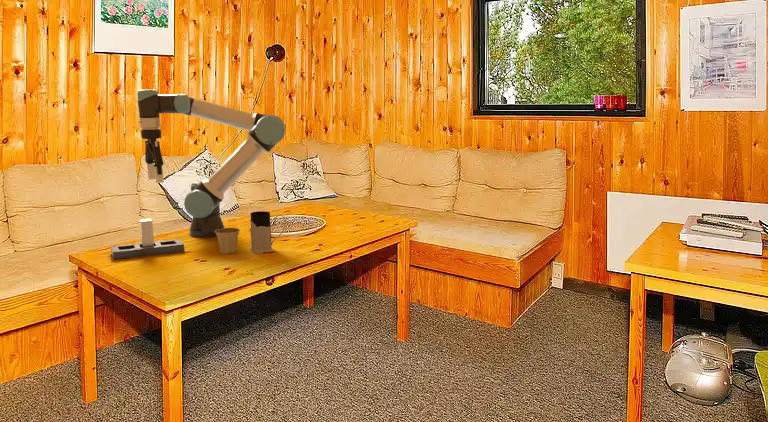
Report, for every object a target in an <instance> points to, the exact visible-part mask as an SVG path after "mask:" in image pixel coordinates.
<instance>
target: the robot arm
mask: <svg viewBox="0 0 768 422" xmlns="http://www.w3.org/2000/svg"><path fill="white" fill-rule="evenodd" d="M137 107H138V113H139V114H138V115H139V120H138V124H140V129H141V130H140V135H141V139H142V140H144V144H145V151H144V152H145V157H144V158H145V159H144V162H145V163H146V168H147V176H148V180H155V183H156V184H160V183H161V184H162V183H165V182H164V172H163V171H164V169H163V166H164V164H165V163H164V161H163V159H164V158H163V155H162V151H161V145H160V141H159V140H157V139H161V138H162V129H160V128H161V126H162V125H161V117H160V114H181V115H182V114H183V115H186V116H191V117H195V118H199V119H202V120H205V121H210V122H212V123H217V124H220V125H225V126H229V127H232V128H236V129H239V130H244V131H247V137H246V140H245V141H243V143H241V144H240V146H239V147H238V148H236V150H234V152H233V153H232V154H231V155H230V156H229V157H228V158H227V159H226V160H225V161H224V162H223V163H222V164H221V165H220V166H219V167H218V169H216V171H215V172H214V173H213V174H212V175H211V176H210V177H208V179H202V180H201V181H200V182H192V183H191V185H190V190H191V191H190V192H188V193H187V194H186V196H185V198H184V202H183V205H184V209H185V211H186V212H187V213H188V215H190V216H191V217H192V219H191V223H190V225H189V235H190V236H192V237H198V238H199V237H200V238H205V237H206V238H208V237H217V236H216V233H215V230H217V229H222V228H226V227H225V225H224V222H223V219H222V217H221V208H220V207H221V206H220V204H221V203H222V201H224V199H225V193H226V192H227V191H228V190H229V189H230V188H231V187H232V186H233V184H234V183H236V182H237V181H238V179H240V177H241V176H242V175H243V174H244V173H245V172H247V170H248V169H249V168H250V167H251V166H252V165H253V164H254V163H255V162H256V161H257V160H258V158H260V157H261V156H262V154H265V153H270V152H271V151H272V150H273V148H274V147H275V146H277V144H278V143H280V142H281V141H282V140H283V139H284V137H285V135H286V123H285V122H284V121H283V119H282V118H281V117H280V116H277V115H273V114H264V113H259V112H256V113H250V112H246V111H242V110H240V109H239V110H238V109H235V108H231V107H227V106H224V105H220V104H217V103H212V102H209V101H205V100H201V99H198V98H193V97H191V96H189V95H188V94H185V93H184V94H183V93H175V94H172V93H170V94H161V93H158V90H157V89H138V91H137Z"/></svg>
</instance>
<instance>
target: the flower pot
mask: <svg viewBox="0 0 768 422" xmlns="http://www.w3.org/2000/svg"><path fill="white" fill-rule="evenodd" d="M240 231H241V229H240V228H237V227H225V228H222V229H217V230H215V233H216V236H215V237H217V243H218V246H219V252H220V253H221V254H226V255H227V254H233V253H236V252H237V248H238V238H239V235H240V234H239V233H240Z"/></svg>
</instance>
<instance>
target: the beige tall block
mask: <svg viewBox="0 0 768 422" xmlns="http://www.w3.org/2000/svg"><path fill="white" fill-rule="evenodd" d="M153 224H154V223H153V220H152V218H143V219H142V218H141V219H139V230H140V243H141V244H142V248H143V247H152V246H154V242H155V240H154V239H155V238H154V228H153V226H154V225H153Z"/></svg>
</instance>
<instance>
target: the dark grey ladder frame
mask: <svg viewBox="0 0 768 422" xmlns="http://www.w3.org/2000/svg"><path fill="white" fill-rule="evenodd" d="M110 252H111V257H112V256H113V257H112V259H118V260H124V259H123V258H127V259H134V258H135V257H136V258H142V257H150V256H151V257H153V256H158V255H168V254H176V253H184V252H185V243H183V242H182V240H181V239H180V238H176V239H167V240H166V239H165V240H159V241H158V240H157V241H155V240H154V246H152V247H143V248H142V244H141V242H138V243H128V244H120V245H119V244H117V245H110Z"/></svg>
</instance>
